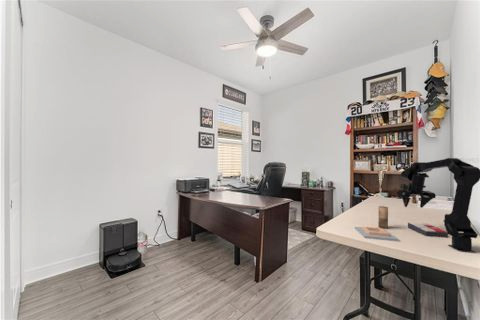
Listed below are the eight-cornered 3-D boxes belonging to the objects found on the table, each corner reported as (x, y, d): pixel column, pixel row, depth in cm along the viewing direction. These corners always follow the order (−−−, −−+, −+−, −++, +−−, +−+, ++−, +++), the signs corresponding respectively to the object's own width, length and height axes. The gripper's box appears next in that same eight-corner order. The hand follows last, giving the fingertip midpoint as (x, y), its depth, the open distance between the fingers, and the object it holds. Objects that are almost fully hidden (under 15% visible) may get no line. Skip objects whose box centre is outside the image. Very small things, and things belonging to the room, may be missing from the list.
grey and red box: (426, 230, 110) (407, 221, 125) (425, 237, 110) (407, 227, 125) (448, 231, 108) (427, 222, 123) (448, 239, 108) (426, 229, 123)
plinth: (399, 241, 101) (399, 236, 101) (364, 237, 105) (364, 233, 105) (384, 231, 117) (384, 226, 117) (354, 228, 121) (354, 224, 121)
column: (389, 229, 121) (389, 208, 121) (380, 228, 122) (380, 207, 122) (385, 226, 125) (385, 206, 126) (377, 226, 126) (377, 205, 127)
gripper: (422, 179, 126) (418, 202, 128) (392, 178, 127) (388, 201, 129) (438, 184, 115) (433, 209, 117) (405, 183, 116) (401, 208, 118)
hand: (413, 207), depth 121 cm, fingers open, 9 cm apart
